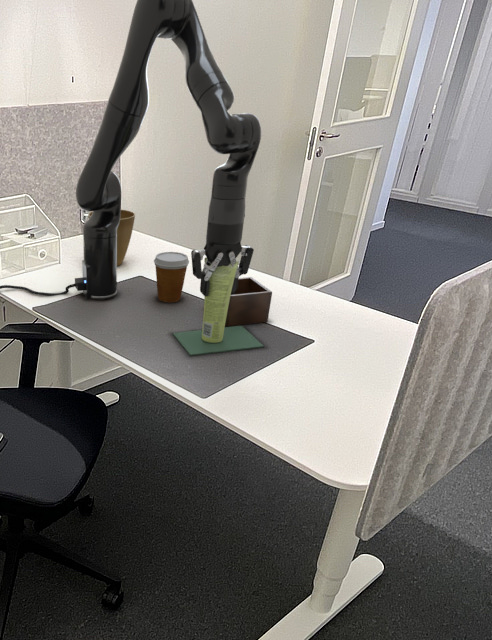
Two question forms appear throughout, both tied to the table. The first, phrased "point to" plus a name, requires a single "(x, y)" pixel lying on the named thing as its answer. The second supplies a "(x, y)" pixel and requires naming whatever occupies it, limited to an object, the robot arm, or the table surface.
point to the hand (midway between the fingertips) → (218, 293)
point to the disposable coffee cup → (170, 275)
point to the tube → (217, 302)
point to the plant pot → (123, 233)
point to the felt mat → (231, 341)
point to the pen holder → (248, 303)
